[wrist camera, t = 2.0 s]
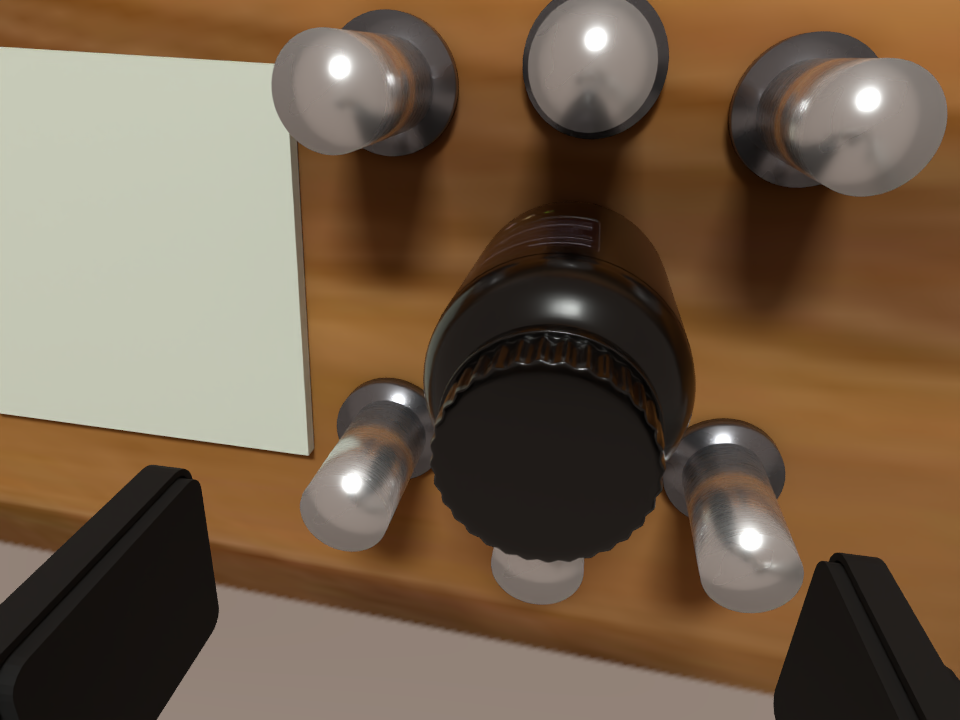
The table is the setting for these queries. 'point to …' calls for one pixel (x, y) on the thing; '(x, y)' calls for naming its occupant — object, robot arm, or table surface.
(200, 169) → the sage pad
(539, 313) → the supplement bottle
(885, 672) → the robot arm
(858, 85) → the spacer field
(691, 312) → the table surface
